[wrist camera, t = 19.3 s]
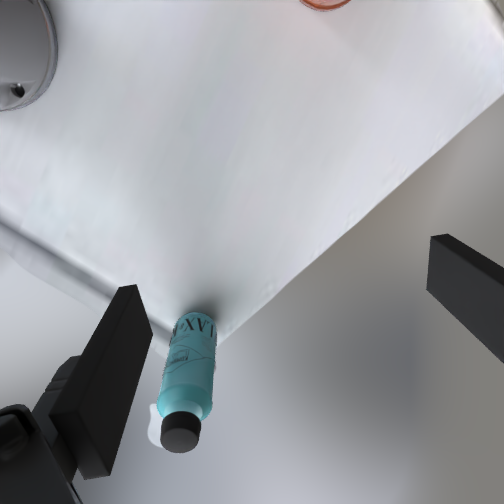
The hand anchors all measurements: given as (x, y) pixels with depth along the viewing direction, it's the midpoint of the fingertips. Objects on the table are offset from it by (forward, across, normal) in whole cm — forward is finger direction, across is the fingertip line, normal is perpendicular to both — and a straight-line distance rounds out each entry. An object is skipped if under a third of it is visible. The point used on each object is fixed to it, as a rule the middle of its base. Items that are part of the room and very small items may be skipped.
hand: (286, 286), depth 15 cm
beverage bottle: (+31, -11, -22) cm, 40 cm away
